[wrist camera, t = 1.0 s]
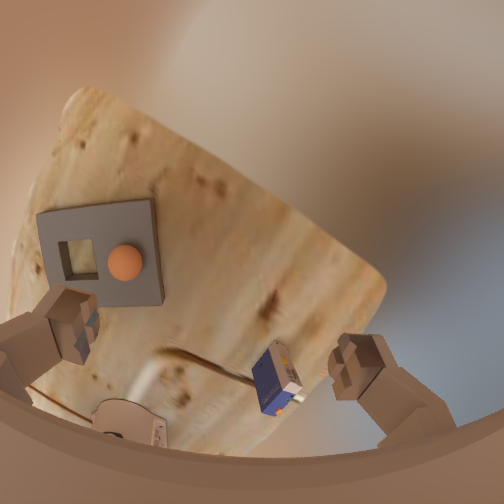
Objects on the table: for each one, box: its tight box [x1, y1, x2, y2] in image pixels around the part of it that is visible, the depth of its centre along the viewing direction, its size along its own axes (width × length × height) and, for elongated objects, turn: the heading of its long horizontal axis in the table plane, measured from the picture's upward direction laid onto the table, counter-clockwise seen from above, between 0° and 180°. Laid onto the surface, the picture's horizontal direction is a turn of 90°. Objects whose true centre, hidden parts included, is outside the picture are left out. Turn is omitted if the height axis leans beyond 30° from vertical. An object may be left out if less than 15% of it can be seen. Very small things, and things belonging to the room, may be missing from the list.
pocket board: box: [36, 198, 165, 307], centre depth 40 cm, size 16×20×3 cm
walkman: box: [252, 340, 303, 416], centre depth 46 cm, size 8×3×12 cm, turn 147°
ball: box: [108, 245, 142, 281], centre depth 37 cm, size 5×5×5 cm
